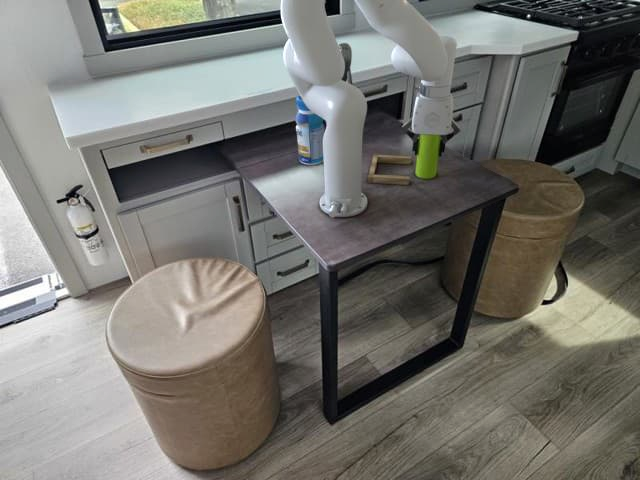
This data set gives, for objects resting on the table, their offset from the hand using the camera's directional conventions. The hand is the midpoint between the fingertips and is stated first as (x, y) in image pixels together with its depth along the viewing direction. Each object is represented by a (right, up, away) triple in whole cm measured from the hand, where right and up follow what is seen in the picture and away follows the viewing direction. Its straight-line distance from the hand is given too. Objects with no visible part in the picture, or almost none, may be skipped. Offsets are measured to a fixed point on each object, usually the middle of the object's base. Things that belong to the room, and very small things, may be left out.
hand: (427, 153), depth 120 cm
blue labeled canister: (-33, +1, +15) cm, 36 cm away
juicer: (-23, +11, +27) cm, 38 cm away
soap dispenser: (+1, -5, +4) cm, 7 cm away
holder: (-10, -4, +6) cm, 12 cm away
